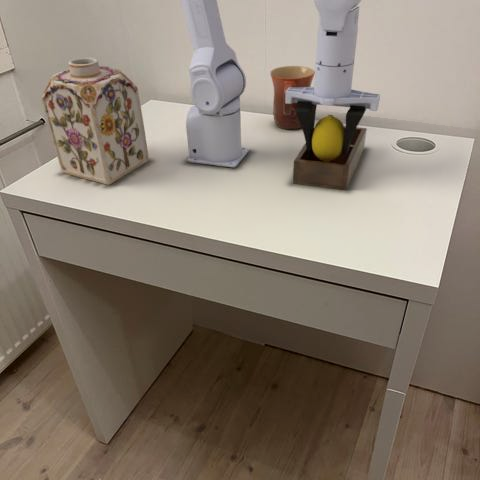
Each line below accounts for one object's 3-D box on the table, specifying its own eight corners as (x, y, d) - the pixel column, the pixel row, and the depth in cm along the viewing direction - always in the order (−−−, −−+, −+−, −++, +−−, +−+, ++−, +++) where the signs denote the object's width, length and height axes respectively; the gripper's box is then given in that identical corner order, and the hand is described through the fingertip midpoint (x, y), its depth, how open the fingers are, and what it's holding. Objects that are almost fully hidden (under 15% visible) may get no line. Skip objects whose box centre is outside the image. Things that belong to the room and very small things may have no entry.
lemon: (307, 157, 88) (310, 110, 82) (338, 155, 88) (343, 108, 82) (313, 170, 83) (316, 122, 78) (346, 168, 84) (351, 120, 78)
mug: (273, 116, 110) (273, 65, 103) (313, 117, 108) (316, 66, 101) (264, 137, 101) (264, 83, 94) (307, 139, 99) (311, 84, 93)
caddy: (292, 183, 85) (293, 160, 83) (316, 144, 97) (318, 123, 95) (346, 190, 83) (349, 167, 80) (363, 149, 95) (366, 128, 92)
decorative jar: (60, 173, 91) (29, 65, 79) (103, 150, 98) (81, 48, 87) (110, 187, 86) (85, 74, 74) (151, 161, 94) (135, 55, 82)
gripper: (280, 65, 74) (278, 154, 83) (380, 72, 70) (367, 164, 79) (293, 53, 79) (290, 138, 88) (386, 59, 75) (373, 147, 84)
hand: (327, 150), depth 84 cm, fingers closed on lemon, 5 cm apart
